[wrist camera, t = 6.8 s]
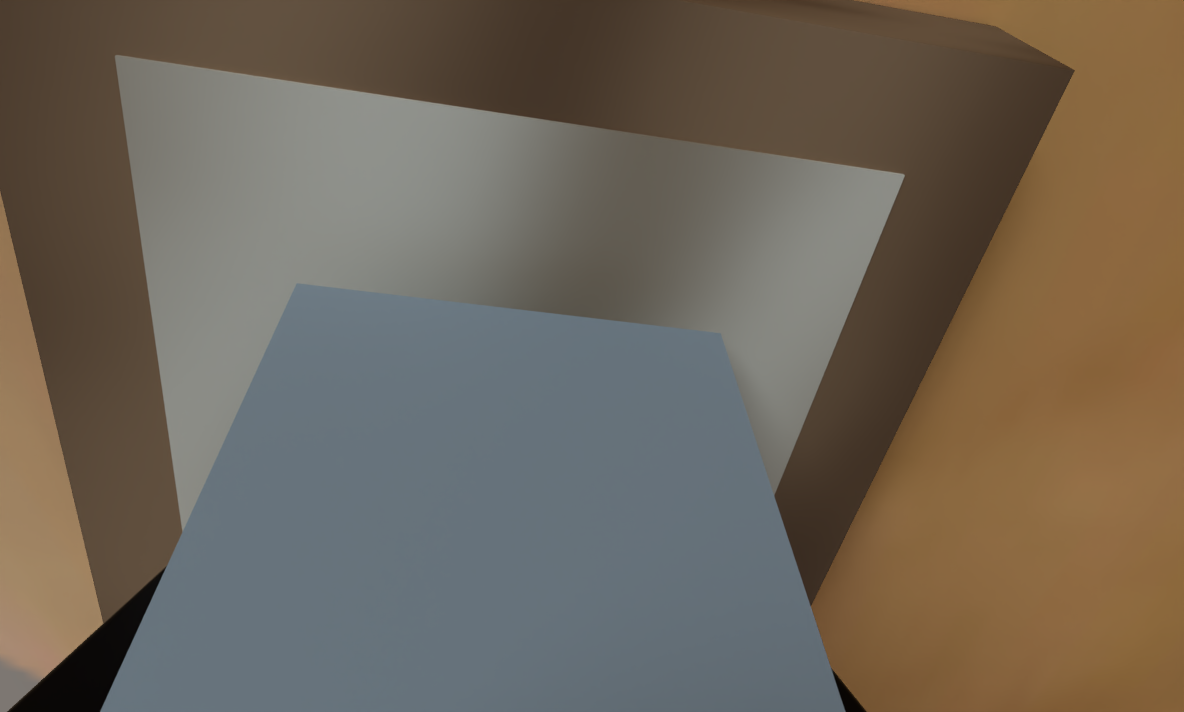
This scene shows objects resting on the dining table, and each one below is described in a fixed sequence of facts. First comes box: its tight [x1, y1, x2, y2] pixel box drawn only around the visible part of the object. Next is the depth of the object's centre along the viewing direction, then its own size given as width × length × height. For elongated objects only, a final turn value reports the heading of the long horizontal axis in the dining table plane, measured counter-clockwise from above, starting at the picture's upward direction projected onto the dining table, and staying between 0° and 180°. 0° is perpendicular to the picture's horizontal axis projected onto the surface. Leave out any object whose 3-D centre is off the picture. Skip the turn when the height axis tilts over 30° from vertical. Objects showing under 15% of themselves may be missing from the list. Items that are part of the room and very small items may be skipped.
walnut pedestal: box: [0, 0, 1075, 623], centre depth 13 cm, size 12×12×2 cm
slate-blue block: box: [100, 283, 845, 712], centre depth 9 cm, size 5×5×6 cm
